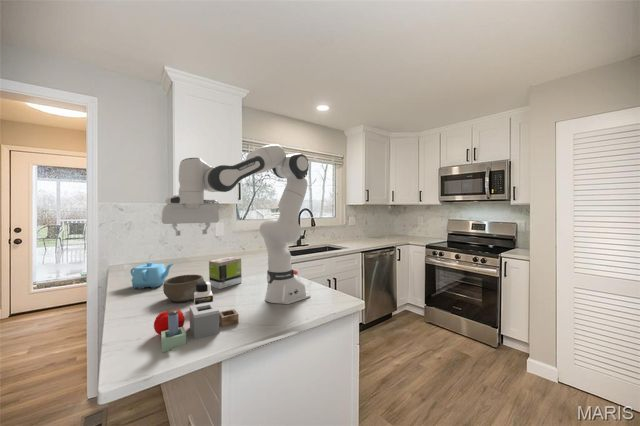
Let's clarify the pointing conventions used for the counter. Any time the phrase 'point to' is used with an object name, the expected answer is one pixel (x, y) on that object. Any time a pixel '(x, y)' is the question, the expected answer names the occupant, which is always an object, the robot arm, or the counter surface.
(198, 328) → the grey hollow block
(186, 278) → the bowl
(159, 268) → the teapot
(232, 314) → the holder
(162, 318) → the tomato
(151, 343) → the counter surface
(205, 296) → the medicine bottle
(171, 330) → the grey rod
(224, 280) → the tea box
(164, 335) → the rest socket
